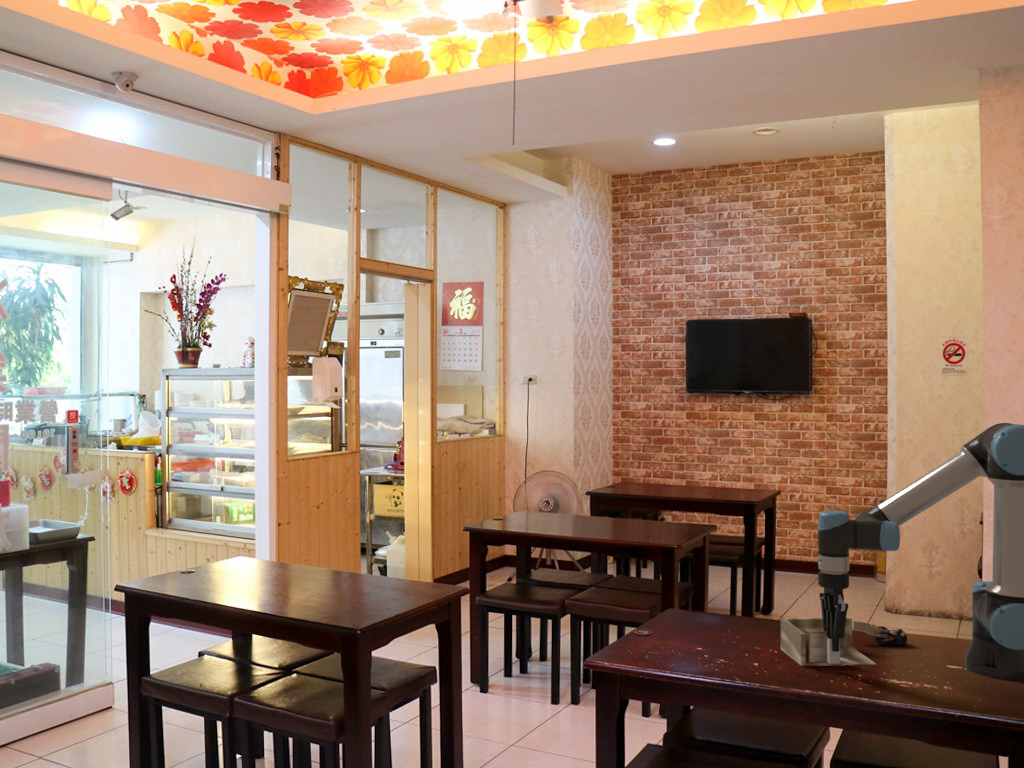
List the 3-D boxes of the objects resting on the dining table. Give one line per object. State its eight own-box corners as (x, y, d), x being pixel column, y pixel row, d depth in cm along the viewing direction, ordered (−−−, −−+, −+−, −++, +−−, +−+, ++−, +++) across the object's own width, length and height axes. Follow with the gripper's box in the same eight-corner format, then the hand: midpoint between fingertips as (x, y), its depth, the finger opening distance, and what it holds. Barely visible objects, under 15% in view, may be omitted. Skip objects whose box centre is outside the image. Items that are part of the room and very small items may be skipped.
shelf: (850, 649, 254) (850, 617, 254) (875, 667, 238) (875, 633, 238) (780, 650, 253) (780, 618, 253) (801, 668, 237) (801, 634, 237)
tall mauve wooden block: (832, 657, 243) (832, 627, 243) (838, 662, 239) (838, 632, 239) (803, 657, 243) (803, 628, 243) (808, 662, 239) (808, 632, 239)
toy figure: (850, 621, 266) (904, 632, 262) (848, 642, 263) (902, 654, 260) (855, 616, 259) (910, 627, 256) (853, 637, 257) (909, 649, 253)
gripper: (809, 566, 239) (809, 655, 239) (829, 577, 226) (829, 671, 226) (837, 566, 239) (837, 654, 239) (858, 576, 226) (858, 670, 226)
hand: (833, 662), depth 233 cm, fingers closed
